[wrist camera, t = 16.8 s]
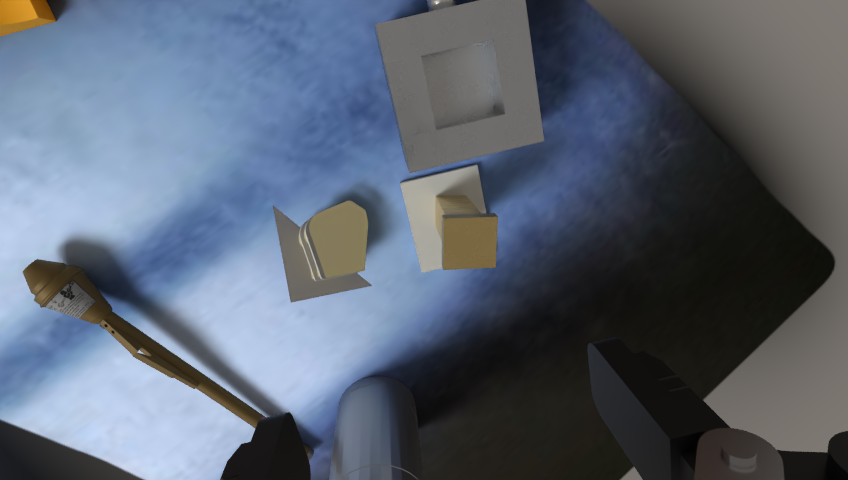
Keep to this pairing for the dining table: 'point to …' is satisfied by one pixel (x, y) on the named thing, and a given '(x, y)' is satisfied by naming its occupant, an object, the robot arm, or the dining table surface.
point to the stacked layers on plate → (324, 251)
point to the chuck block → (461, 81)
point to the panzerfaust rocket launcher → (123, 330)
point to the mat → (422, 208)
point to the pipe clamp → (23, 15)
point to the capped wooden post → (465, 233)
